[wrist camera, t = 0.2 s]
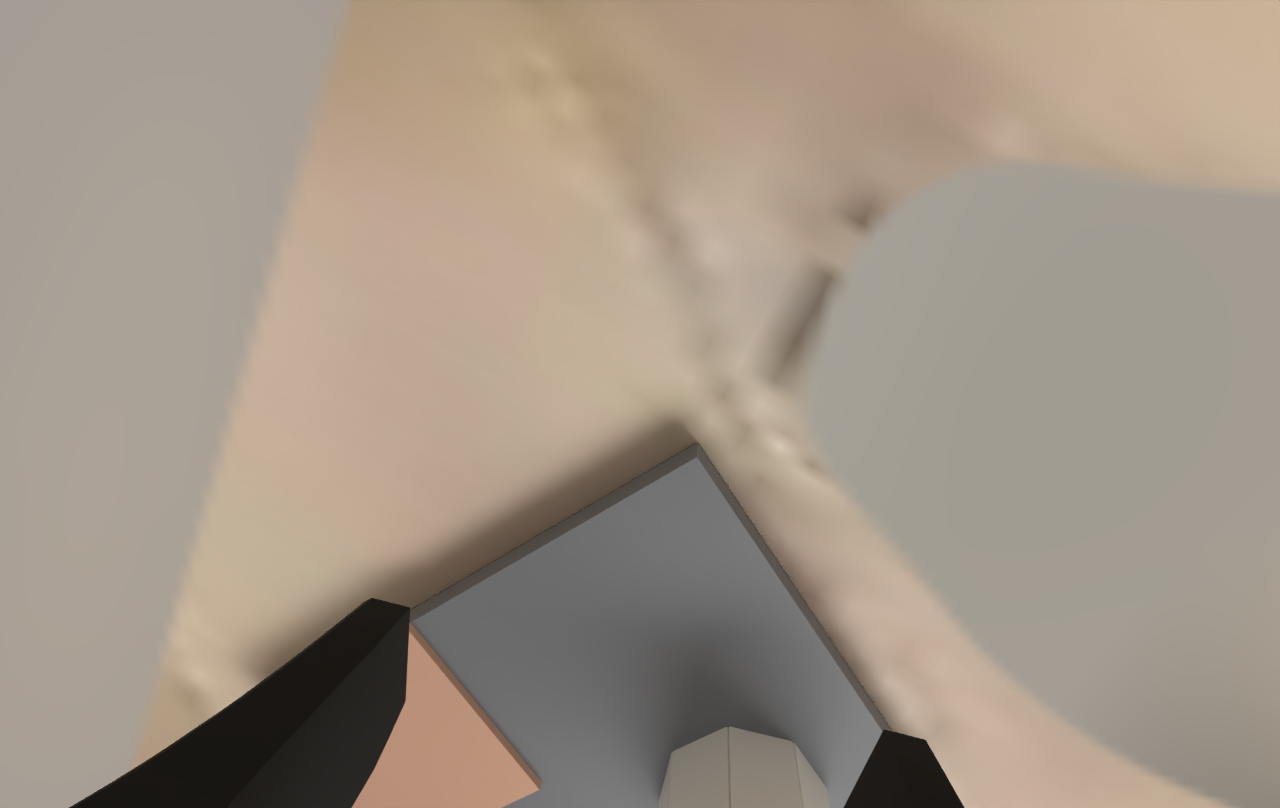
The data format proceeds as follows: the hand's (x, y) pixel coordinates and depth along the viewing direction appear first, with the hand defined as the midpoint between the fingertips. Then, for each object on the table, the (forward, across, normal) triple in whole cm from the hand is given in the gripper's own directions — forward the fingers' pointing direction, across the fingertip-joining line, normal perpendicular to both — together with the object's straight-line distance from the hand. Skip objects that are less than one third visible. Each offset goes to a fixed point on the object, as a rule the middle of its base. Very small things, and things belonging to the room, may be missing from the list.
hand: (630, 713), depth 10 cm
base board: (+9, +1, +12) cm, 15 cm away
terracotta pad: (+7, +7, +13) cm, 16 cm away
